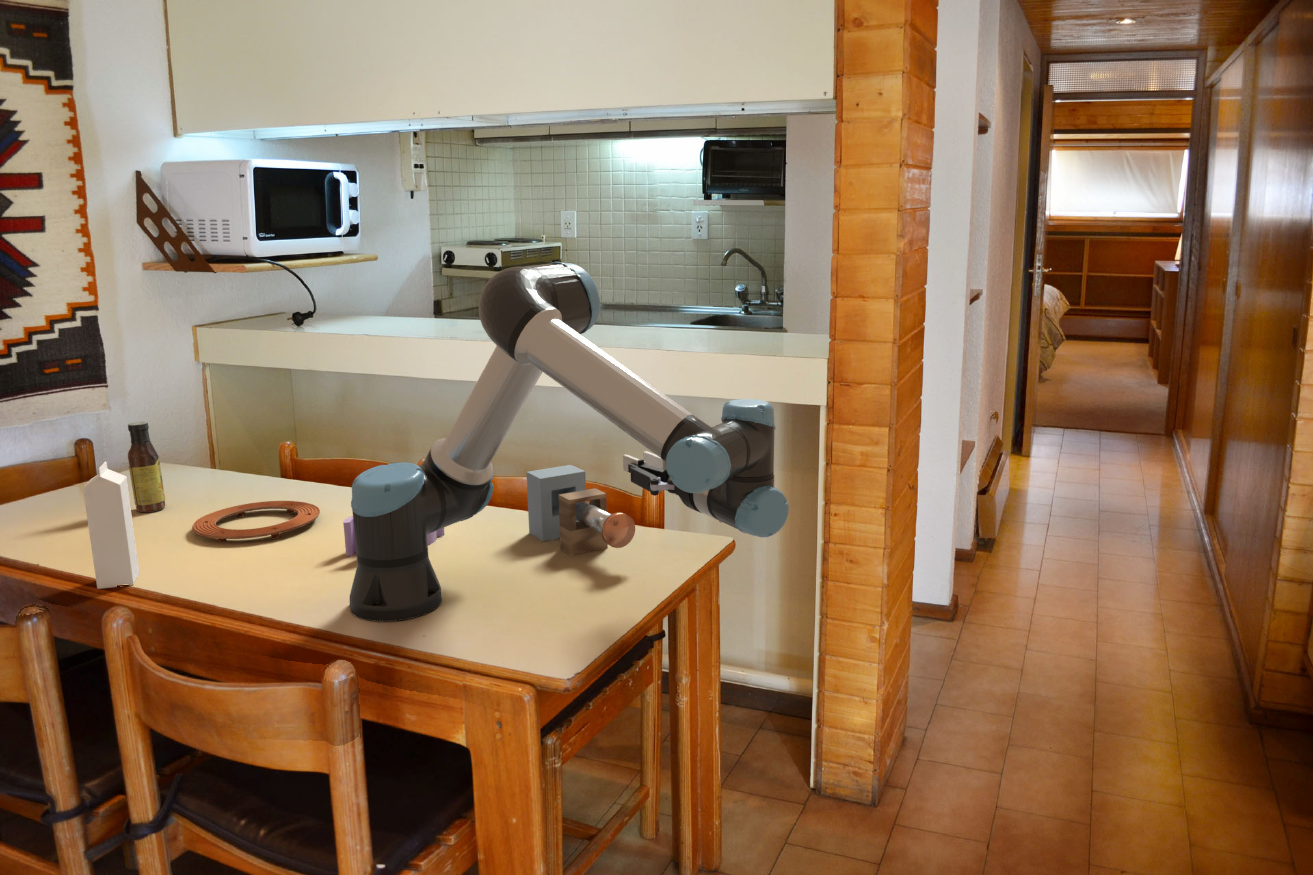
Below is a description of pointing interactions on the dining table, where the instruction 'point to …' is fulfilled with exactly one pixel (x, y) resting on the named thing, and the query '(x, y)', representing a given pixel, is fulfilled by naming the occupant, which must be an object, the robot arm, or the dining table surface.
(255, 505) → the ring
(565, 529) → the sleeve
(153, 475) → the sauce bottle
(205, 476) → the dining table surface
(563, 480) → the socket block
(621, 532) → the pin
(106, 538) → the milk
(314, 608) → the dining table surface
